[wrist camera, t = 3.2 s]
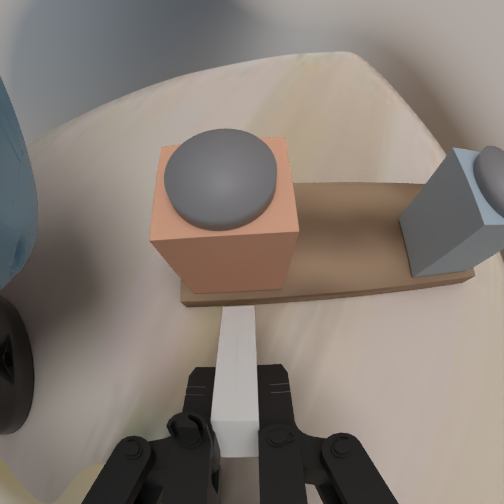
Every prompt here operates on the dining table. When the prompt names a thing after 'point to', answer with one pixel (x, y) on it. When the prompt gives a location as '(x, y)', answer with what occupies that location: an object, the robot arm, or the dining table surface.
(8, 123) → the robot arm
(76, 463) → the dining table surface
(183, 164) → the salmon button
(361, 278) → the button board
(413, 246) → the slate button
